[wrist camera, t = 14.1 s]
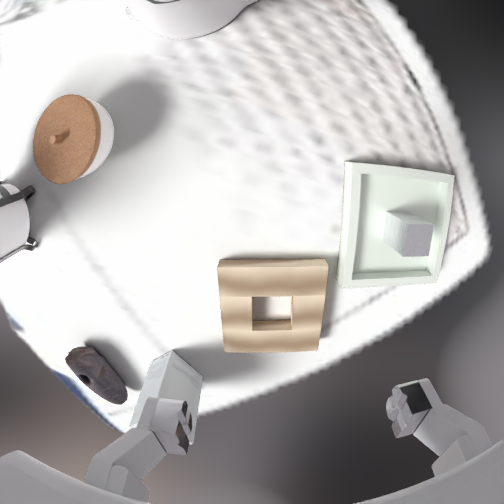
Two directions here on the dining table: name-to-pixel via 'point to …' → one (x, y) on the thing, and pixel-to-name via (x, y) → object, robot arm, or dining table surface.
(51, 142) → the lidded jar
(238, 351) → the socket block
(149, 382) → the skincare box
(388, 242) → the pin
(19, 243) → the coffee press
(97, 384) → the perforated stone tool
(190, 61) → the dining table surface
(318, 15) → the dining table surface
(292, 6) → the dining table surface
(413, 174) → the tray
